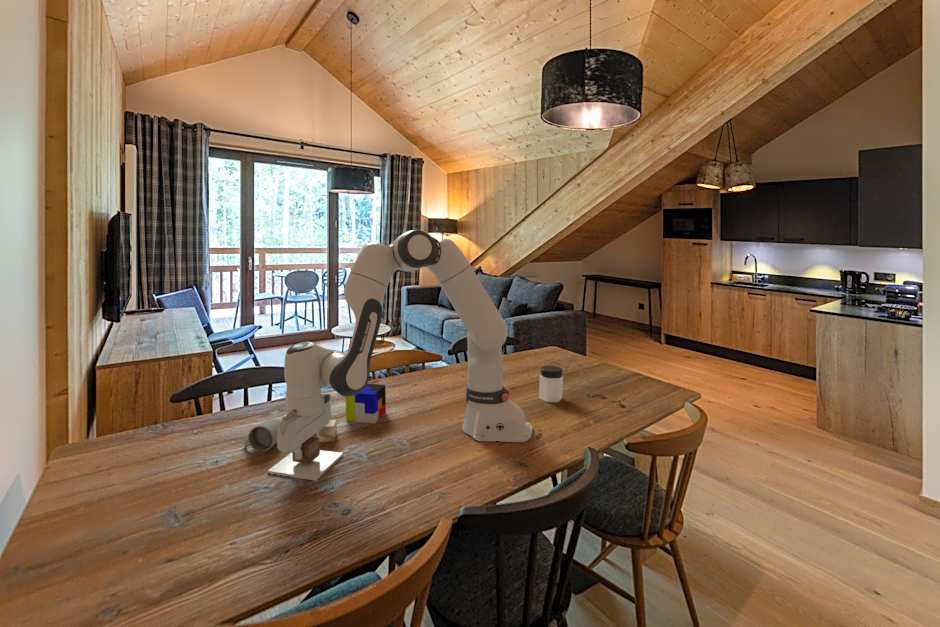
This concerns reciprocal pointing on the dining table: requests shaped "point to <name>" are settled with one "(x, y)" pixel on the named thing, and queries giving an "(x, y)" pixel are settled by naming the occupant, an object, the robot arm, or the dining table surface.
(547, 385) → the jar
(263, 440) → the ceramic mug
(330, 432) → the maple block
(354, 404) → the puzzle toy
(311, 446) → the walnut block
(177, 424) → the dining table surface
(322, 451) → the white coaster
